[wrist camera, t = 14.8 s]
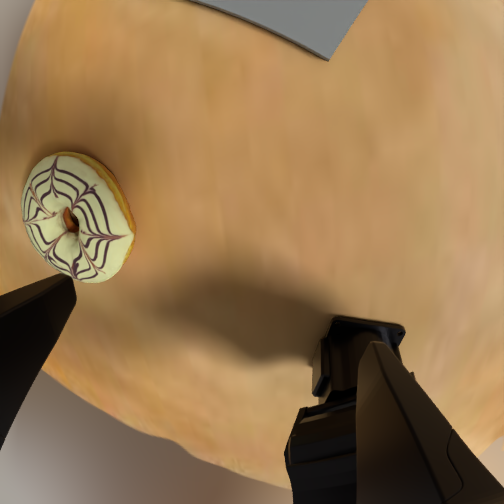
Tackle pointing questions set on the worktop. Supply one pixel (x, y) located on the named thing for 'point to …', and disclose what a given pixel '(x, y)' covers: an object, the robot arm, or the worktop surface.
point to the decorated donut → (86, 210)
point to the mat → (298, 19)
